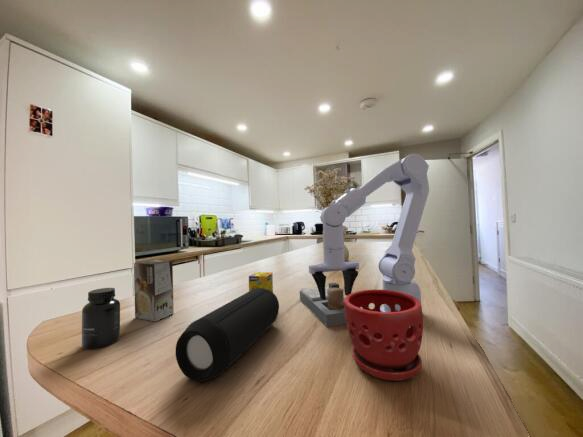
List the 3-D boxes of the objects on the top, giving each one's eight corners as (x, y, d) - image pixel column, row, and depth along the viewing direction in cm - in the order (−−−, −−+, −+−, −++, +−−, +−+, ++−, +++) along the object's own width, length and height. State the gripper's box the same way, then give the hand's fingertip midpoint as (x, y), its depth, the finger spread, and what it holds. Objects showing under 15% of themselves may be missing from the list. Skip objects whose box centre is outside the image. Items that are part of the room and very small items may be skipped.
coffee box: (175, 313, 70) (174, 260, 70) (155, 322, 64) (154, 263, 64) (153, 310, 73) (152, 259, 74) (133, 318, 67) (132, 262, 68)
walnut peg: (337, 311, 68) (336, 286, 68) (347, 316, 64) (346, 290, 64) (324, 314, 66) (324, 289, 66) (334, 319, 62) (333, 293, 62)
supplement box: (268, 313, 68) (267, 276, 68) (248, 312, 69) (248, 275, 69) (273, 306, 73) (272, 272, 74) (255, 305, 75) (255, 271, 75)
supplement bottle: (76, 354, 49) (76, 296, 49) (87, 340, 55) (86, 289, 55) (117, 345, 52) (116, 291, 52) (122, 333, 58) (122, 284, 58)
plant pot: (368, 339, 51) (366, 284, 52) (435, 364, 42) (432, 297, 42) (332, 364, 42) (329, 298, 43) (406, 404, 33) (403, 318, 33)
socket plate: (327, 296, 82) (327, 287, 82) (363, 321, 61) (363, 309, 61) (299, 299, 80) (299, 290, 80) (326, 326, 58) (326, 314, 58)
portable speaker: (249, 321, 63) (248, 284, 64) (283, 325, 60) (281, 286, 60) (171, 381, 39) (170, 322, 40) (220, 394, 36) (218, 329, 36)
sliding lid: (327, 288, 82) (327, 277, 82) (342, 296, 71) (341, 284, 71) (300, 291, 79) (300, 279, 79) (311, 300, 69) (311, 287, 69)
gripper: (349, 245, 71) (351, 290, 71) (304, 248, 67) (306, 295, 67) (362, 247, 64) (364, 297, 64) (313, 251, 60) (315, 303, 60)
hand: (335, 297), depth 65 cm, fingers open, 7 cm apart
